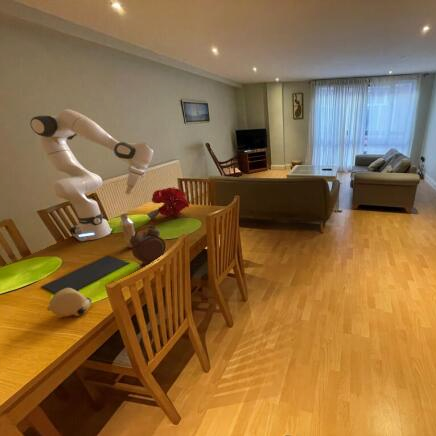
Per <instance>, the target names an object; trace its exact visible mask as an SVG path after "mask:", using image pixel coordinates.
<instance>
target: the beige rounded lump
mask: <svg viewBox="0 0 436 436" xmlns="http://www.w3.org/2000/svg"><path fill="white" fill-rule="evenodd" d="M92 300H93V299H91V298H90V297H86V296H85V295H84V294H82V293H81V292H79V290H78V291H76V290H74V289H72V288H65V289H63V290H61V291H59V292H57V293H56V294H55V293H54V294H53V296H52V297H51V298H50V300H49V304H48V306H47V307H46V310H47V311H51V312H52V314H54V315H56V316H57V317H58V318H59V319H63V317H71V316H74V317H79V316H81V315H83V314H85V313H86V312H87V311H88V310H89V309H90V307H91V306H92V305H91V303H93V301H92Z"/></svg>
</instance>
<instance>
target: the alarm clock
mask: <svg viewBox="0 0 436 436" xmlns="http://www.w3.org/2000/svg"><path fill="white" fill-rule="evenodd" d="M146 228H149V229H148V230H147V231H146V232H142V235H140V234H138V232H139V231H141V230H143V229H146ZM160 233H161V232H160V230H159V229H158V228H156V226H154V227H153V226H152V225H144V226H142V227H139V228H137V230H135V235H134V236H131V239H130V243H131V245H132V248H131V253H132V256H133V257H134V258H135V259H137V260H138V261H140V262H141V264H142V266H143V265H144V264H145V263H146V265H147V264H148V265H149V264H151V262H152V261H154V260H155V259H157V258H158V257H160V256H161V255H162V256H164V254H165V252H166V242H165V240H164V239H163V238H162V237H160V236H161V234H160ZM152 263H153V262H152Z"/></svg>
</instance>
